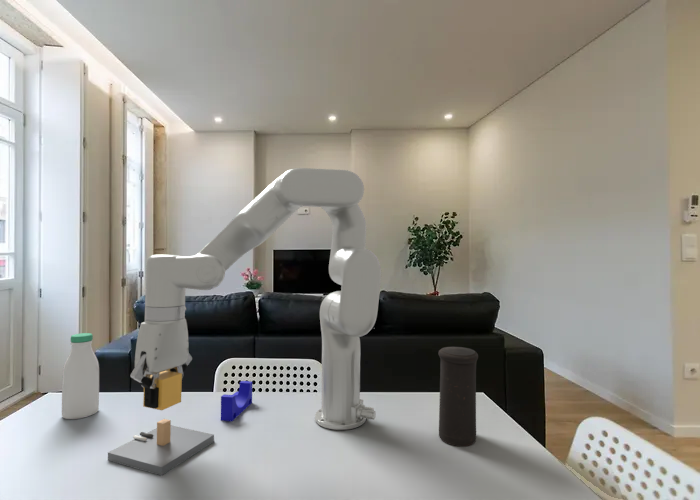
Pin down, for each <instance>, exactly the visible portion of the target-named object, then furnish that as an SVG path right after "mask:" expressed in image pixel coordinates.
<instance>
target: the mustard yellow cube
mask: <svg viewBox="0 0 700 500" xmlns="http://www.w3.org/2000/svg"><path fill="white" fill-rule="evenodd" d="M151 379H152V375H150V380H151ZM182 380H183V378H182V373H177V372H171V371H168V370H166V371H163V372H160V374H159V378H158V382H157V386H156V387H157V388H159V397H158V408H155V409H154V408H152V409H153V410H158V411H164V410H166V409H168V408H170V407H171V408H172V406H176V405H178V404H179V403H181V402H182V385H183V384H182V382H183V381H182ZM144 392H145V388H144V387H143V393H144ZM142 400H143V402H142V404H143V407H144V408H146V407H145V406H144V398H143V399H142ZM147 408H149V407H147ZM149 409H150V408H149Z"/></svg>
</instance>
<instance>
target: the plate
mask: <svg viewBox="0 0 700 500" xmlns="http://www.w3.org/2000/svg"><path fill="white" fill-rule="evenodd" d="M171 422H172V421H171V419H167V418H163V419H161V420H159V421H157V422H156V428H154V429H151V430H150V431H147V432H144V431H140V432H139V435H136V434H135V435H133V436H132V438H133V439H132V440H130V441H128V442H126V443H124V444H122V445H120V446H118V447H117V448H114V449H112V450H110V451H108V452H107V461H110V462H114V463H116V464H120V465H124V466H128V467H131V468H134V469H138V470H141V471H146V472H148V473H151V474H155V475H159V476H164V474H166V473H167V472H169V471H171V470H172V469H174V468H176V467H177V466H179V465H180V464H182V463H183V462H185V461H186V460H188V459H189V458H191V457H192V456H194V455H195V454H197V453H199V452H200V451H201V450H202V451H203V449H204V448H206V447H208V446H210V445H211V444H213V443H215V434H213V433H208V432H204V431H200V430H194V429H189V428H186V427H181V426H177V425H172V424H171Z"/></svg>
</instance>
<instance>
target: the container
mask: <svg viewBox="0 0 700 500" xmlns="http://www.w3.org/2000/svg"><path fill="white" fill-rule="evenodd" d="M438 356H439V358H440V362H439V363H440V364H439V365H440V368H439V369H440V373H439V375H440V378H439V410H438V411H439V415H438V417H439V418H438V437H439V439H440V440H441V441H442V442H444V443H446V444H449V445H451V446H457V447H467V446H472V445H474V444H475V442H477V361H478V359H479V354H478V353H477V351H476V350H474V349H472V348H469V347H462V346H445V347H442V348H441V349H439V350H438Z"/></svg>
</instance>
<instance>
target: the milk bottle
mask: <svg viewBox="0 0 700 500" xmlns="http://www.w3.org/2000/svg"><path fill="white" fill-rule="evenodd" d="M93 336H94V335H93V333H91V332H90V333H89V332H83V333H75V334H72V335H71V336H70V345H71V349H70V352H69V355H68V356H67V358H66V360H65V362H64V365H63V369H62V379H61V381H62V384H61V416H62V418H63V419H65V420H77V419H83V418H87V417H90V416H92V415H95V414H96V413H97V412H98V411H99V409H100V408H99V407H100V405H99V404H100V363H99V360H98V358H97V356H96V354H95V353H94V350H93V347H92V343H93V340H94V339H93V338H94V337H93Z"/></svg>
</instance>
